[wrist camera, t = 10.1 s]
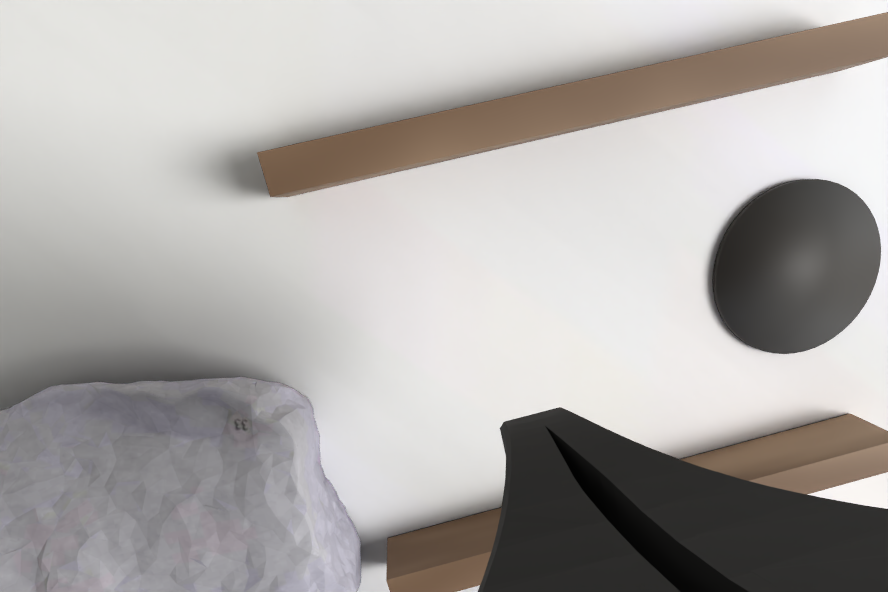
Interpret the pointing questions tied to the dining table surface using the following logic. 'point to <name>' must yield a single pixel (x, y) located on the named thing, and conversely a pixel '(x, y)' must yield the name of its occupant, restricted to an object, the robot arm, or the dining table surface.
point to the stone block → (170, 491)
